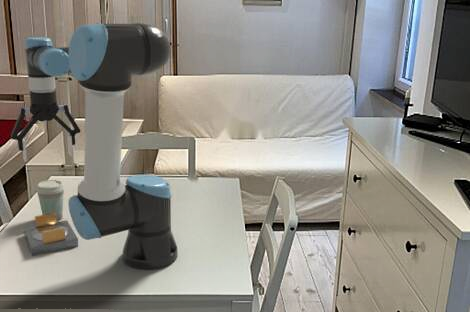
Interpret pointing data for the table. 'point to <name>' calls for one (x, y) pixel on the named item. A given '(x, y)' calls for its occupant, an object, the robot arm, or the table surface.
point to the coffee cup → (51, 197)
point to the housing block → (49, 235)
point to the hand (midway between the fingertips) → (48, 157)
